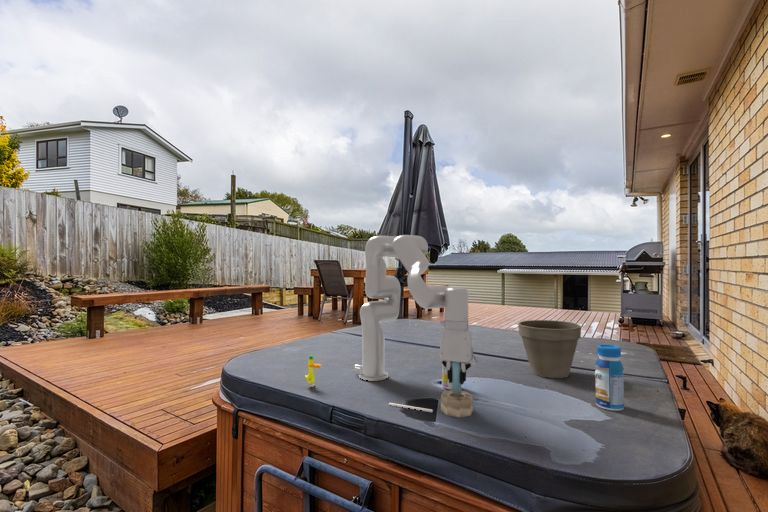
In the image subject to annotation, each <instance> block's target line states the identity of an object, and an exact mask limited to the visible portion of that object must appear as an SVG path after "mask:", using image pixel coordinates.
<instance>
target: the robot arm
mask: <svg viewBox="0 0 768 512" xmlns="http://www.w3.org/2000/svg"><path fill="white" fill-rule="evenodd" d="M428 249H429V245H428V242H427V240H426V239H425V238H424V237H423V236H420V235H411V234H400V235H398V236H391V235H375V236H372V237H370V238H369V239H368V240H367V242H366V244H365V248H364V255H365V263H366V265H365V267H366V268H365V282H364V283H365V284H364V291H365V295H366V296H367V297H368V298H369V299H383V300H373V301H367V302H365V303H363V305H361V307H360V309H359V318H360V323H361V365H360V364H354V368H353V369H354V371H357V372H358V376H359V377H358V376H357V377H358V379H360V378H361V379H360V380H362V379H363V380H362V381H366V380H368V381H367V382H379V381H384V380H387V379H388V378H389V373H388V372H387V371H385V367H386V366H385V364H386V363H385V360H386V359H385V356H386V355H385V354H386V353H385V350H386V349H385V345H386V344H385V343H386V342H385V341H386V340H385V335H386V334H385V332H384V330H383V328H382V326H381V324H387V323H393V322H395V321H396V320H397V319H398V317H399V315H400V308H401V307H400V304H401V293H402V292H401V290H402V289H401V284H400V281H399V279H398V277H396V276H394V275H387V264H386V263H387V262H386V261H385V259H384V258H385V257H387V258H388V257H391V258H398V259H399V261H400V262H401V264H402V265H403V267H404V268H405V270H406V271H407V273H408V274H407V280H406V281H407V289H408V291H409V293H410V295H411V296H412V298H413V300H414V301H415V302H416V304H417V305H418V306H419V307H420V308H423V309H425V310H426V309H427V310H431V309H442V308H443V309H444V320H441V321H440V326H443V328H442V330H441V334H440V335H441V336H440V343H439V353H438V355H437V357H436V361H437V362H438V363H440V364H441V365H442V364H443V365H444V366H445V367H446V369H447V373H448V379H449V383H452V362H459V363H461V372H460V384H461V386H462V385H464V383H465V382H466V381H467V370H469V369H470V368H471V367H474V366H476V365H478V360H477V359H476V357H475V355H474V348H473V338H472V331H471V329H469V290H468V288H466V287H461V286H460V287H457V286H455V287H454V286H449V285H427V284H426V283H425V281H424V279H423V278H422V275H423V274H424V273H425V272H426V271H427V269H428V268H429V266H430V261H429V259H428V258H427V257H426V256H425V255H427V253H428ZM386 378H387V379H386Z"/></svg>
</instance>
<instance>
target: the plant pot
mask: <svg viewBox="0 0 768 512" xmlns="http://www.w3.org/2000/svg"><path fill="white" fill-rule="evenodd" d="M517 324H518V325H517V326H518V334H519V335H520V336H521V339H522V343H523V347H524V350H525V354H526V357H527V360H528V363H529V367H530V369H531V372H532V374H534V375H535V376H538V375H539V377H541V376H542V378H546V377H548V379H564V377H565V378H568V376H570V371H571V368H572V364H573V360H574V357H575V353H576V350H577V345H578V341H579V339H580V338H581V337H582V326H581V325H580V324H578V323H574V322H570V321H563V320H553V319H552V320H551V319H550V320H549V319H548V320H547V319H540V320H539V319H533V320H530V319H529V320H523V321H519V322H518V323H517Z"/></svg>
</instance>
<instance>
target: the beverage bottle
mask: <svg viewBox="0 0 768 512" xmlns="http://www.w3.org/2000/svg"><path fill="white" fill-rule="evenodd" d="M596 348H597V350H596V351H597V356H599V357H598V358H597V359H596V361H595V364H594V367H595V368H596V369H595V371H594V376H595V405H596V406H598V407H599V408H601V409H604V410H607V411H611V412H612V411H613V412H616V411H617V412H618V411H619V412H620V411H623V410H624V408H625V397H624V396H625V395H624V393H625V392H624V391H625V390H624V386H625V385H624V384H625V383H624V380H625V373H624V369H625V367H624V365H623V363H622V362H621V360H620V359H621V357H622V349H621V347H620V346H618V345H613V344H598V345H597V347H596Z"/></svg>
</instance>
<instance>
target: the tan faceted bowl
mask: <svg viewBox="0 0 768 512" xmlns="http://www.w3.org/2000/svg"><path fill="white" fill-rule="evenodd" d="M473 406H474V395H473V394H471V393H469V392H467V391H466V390H465V391H464V390H461V393H459V394H456V393H453V392H452V390H444V391H443V392H441V395H440V411H441V413H443V414H445V415H446V416H448V417H455V418H466V417H469V416H472V413H473V411H474V407H473Z"/></svg>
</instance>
